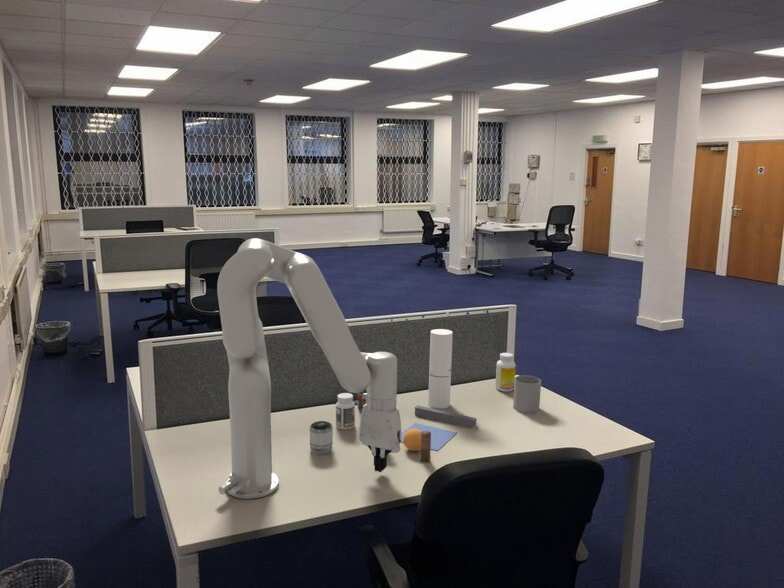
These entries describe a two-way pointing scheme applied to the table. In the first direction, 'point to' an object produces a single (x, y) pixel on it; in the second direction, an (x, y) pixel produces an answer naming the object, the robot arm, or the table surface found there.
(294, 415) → the table surface
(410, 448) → the ball
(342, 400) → the pill bottle
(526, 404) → the cup
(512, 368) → the supplement bottle
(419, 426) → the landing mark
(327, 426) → the camera lens
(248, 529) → the table surface
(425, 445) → the right post
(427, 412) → the wall
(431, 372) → the cylindrical container
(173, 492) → the table surface
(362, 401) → the supplement bottle
